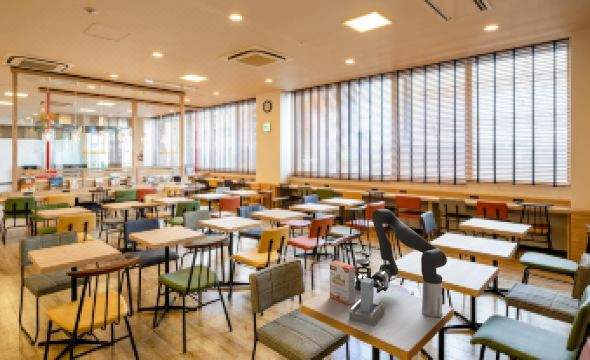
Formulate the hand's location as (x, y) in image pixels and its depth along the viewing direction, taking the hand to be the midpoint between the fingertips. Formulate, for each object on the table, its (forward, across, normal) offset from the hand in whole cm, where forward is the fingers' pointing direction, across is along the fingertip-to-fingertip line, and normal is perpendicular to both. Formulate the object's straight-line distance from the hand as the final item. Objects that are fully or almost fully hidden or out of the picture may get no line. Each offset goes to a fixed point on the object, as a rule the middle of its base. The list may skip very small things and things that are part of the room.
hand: (369, 289), depth 178 cm
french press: (-31, -15, +14) cm, 37 cm away
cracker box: (-9, -19, +14) cm, 25 cm away
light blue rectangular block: (+2, 0, +9) cm, 10 cm away
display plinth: (+3, 0, +13) cm, 14 cm away
